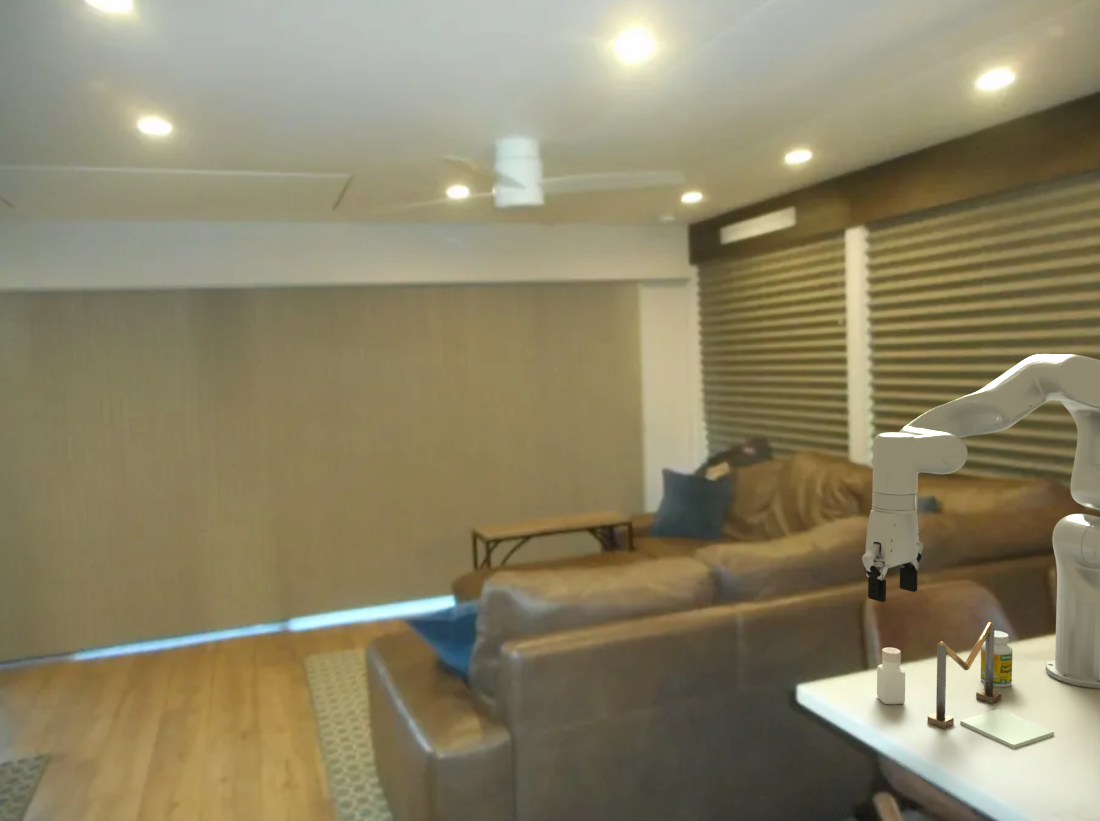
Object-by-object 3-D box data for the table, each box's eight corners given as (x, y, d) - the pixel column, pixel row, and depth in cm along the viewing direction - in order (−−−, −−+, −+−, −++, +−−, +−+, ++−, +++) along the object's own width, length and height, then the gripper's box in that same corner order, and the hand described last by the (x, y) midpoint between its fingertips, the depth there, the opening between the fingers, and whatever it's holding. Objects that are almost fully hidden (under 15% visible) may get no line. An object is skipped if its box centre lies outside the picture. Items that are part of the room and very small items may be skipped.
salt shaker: (906, 705, 154) (906, 654, 154) (884, 705, 154) (884, 654, 154) (897, 695, 158) (897, 646, 158) (875, 696, 158) (876, 646, 158)
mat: (999, 712, 151) (999, 708, 151) (1053, 735, 142) (1054, 731, 142) (960, 723, 146) (960, 720, 146) (1013, 748, 137) (1013, 744, 137)
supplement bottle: (989, 674, 167) (990, 627, 166) (1017, 683, 163) (1018, 634, 162) (974, 681, 164) (975, 632, 163) (1002, 690, 160) (1003, 640, 159)
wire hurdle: (984, 694, 158) (986, 618, 157) (1000, 700, 156) (1002, 622, 154) (927, 723, 147) (928, 641, 146) (944, 729, 145) (945, 646, 143)
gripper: (903, 493, 161) (901, 582, 162) (847, 504, 151) (845, 599, 152) (940, 499, 155) (938, 591, 156) (885, 511, 145) (883, 609, 146)
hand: (892, 595), depth 154 cm, fingers open, 9 cm apart
